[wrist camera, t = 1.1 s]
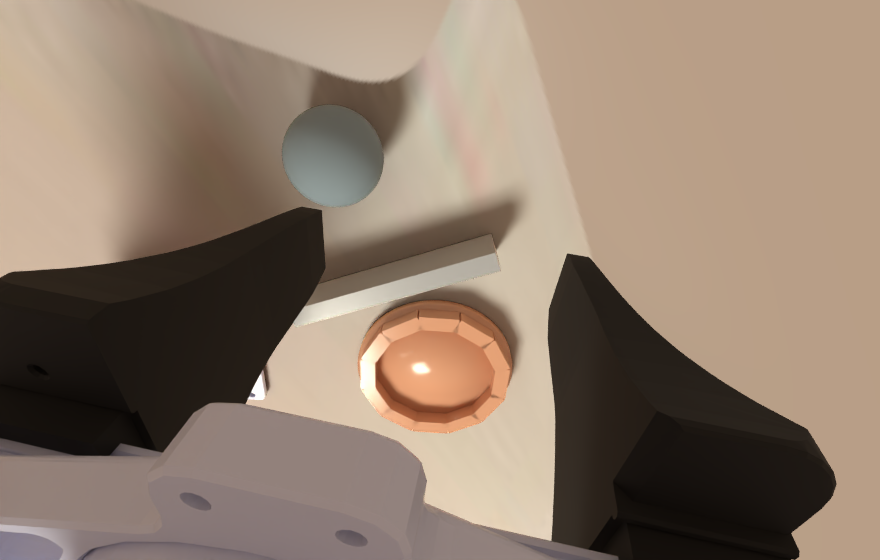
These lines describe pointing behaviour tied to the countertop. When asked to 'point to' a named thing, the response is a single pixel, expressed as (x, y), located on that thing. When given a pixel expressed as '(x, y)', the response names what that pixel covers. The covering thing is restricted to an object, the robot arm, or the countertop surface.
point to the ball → (332, 155)
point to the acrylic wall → (401, 279)
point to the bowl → (434, 366)
